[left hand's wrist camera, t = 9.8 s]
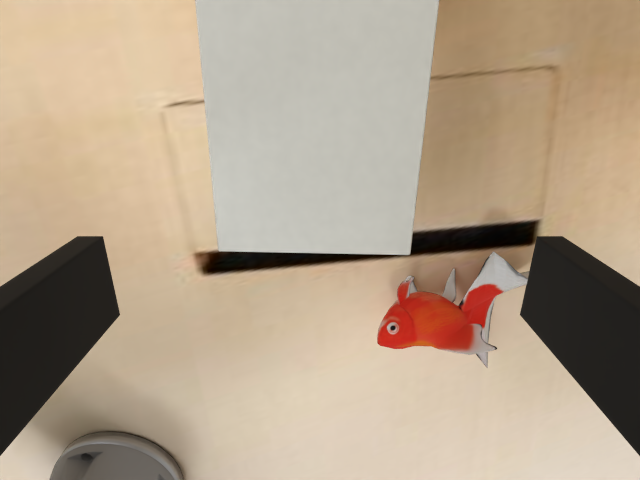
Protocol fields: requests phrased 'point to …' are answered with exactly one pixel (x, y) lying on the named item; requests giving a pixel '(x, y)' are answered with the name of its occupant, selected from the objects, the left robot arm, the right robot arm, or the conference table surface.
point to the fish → (449, 312)
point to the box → (316, 121)
